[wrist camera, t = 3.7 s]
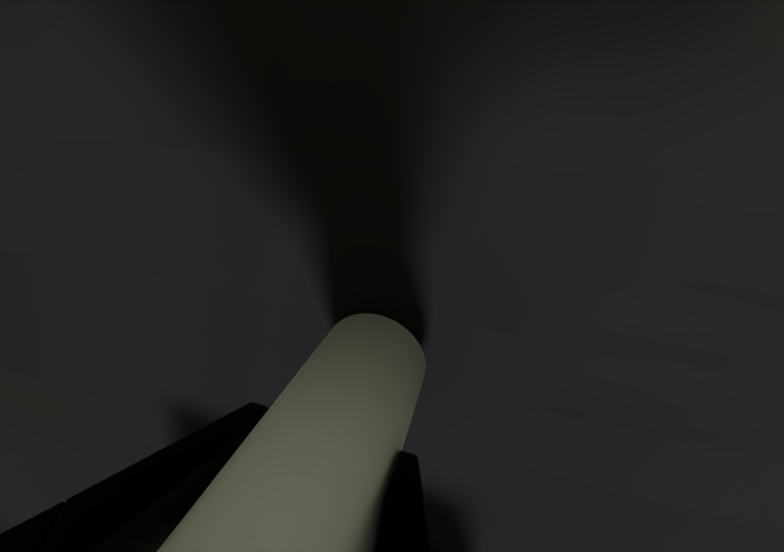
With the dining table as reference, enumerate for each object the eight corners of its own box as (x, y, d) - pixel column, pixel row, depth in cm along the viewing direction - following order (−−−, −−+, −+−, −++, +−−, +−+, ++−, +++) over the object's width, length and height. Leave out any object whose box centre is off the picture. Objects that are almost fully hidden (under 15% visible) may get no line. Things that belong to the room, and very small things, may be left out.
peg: (434, 329, 10) (173, 1134, 2) (416, 413, 11) (210, 1112, 4) (329, 301, 11) (-184, 866, 3) (323, 385, 12) (-38, 931, 4)
